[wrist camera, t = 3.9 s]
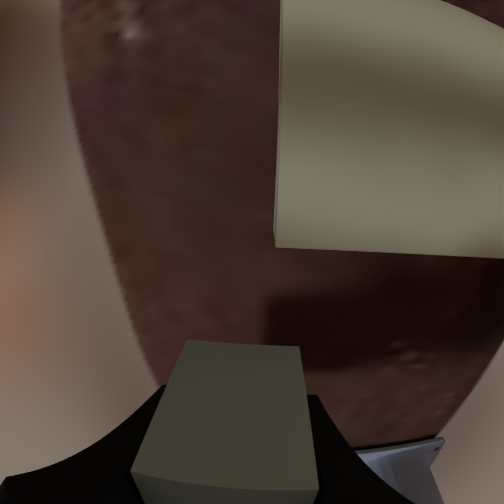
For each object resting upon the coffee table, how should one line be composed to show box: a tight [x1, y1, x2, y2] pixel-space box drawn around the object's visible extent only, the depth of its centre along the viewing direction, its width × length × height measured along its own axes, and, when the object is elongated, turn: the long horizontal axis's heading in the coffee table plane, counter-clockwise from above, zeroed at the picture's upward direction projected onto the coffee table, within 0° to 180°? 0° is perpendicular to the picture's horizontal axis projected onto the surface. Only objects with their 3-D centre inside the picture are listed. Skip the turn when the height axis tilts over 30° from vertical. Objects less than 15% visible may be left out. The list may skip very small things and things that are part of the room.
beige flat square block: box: [274, 0, 504, 258], centre depth 10 cm, size 10×10×3 cm
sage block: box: [130, 340, 319, 504], centre depth 8 cm, size 4×4×6 cm
